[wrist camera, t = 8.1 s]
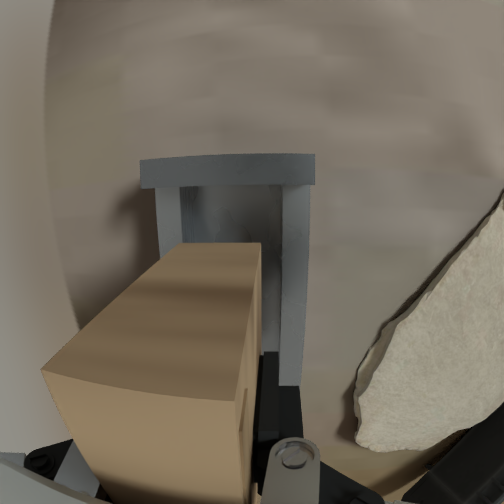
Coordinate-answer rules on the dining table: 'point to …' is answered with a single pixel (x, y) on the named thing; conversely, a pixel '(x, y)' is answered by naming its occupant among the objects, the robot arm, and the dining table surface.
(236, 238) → the grey open holder
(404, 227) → the dining table surface
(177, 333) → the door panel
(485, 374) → the stone tablet
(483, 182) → the dining table surface
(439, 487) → the magazine
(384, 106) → the dining table surface
